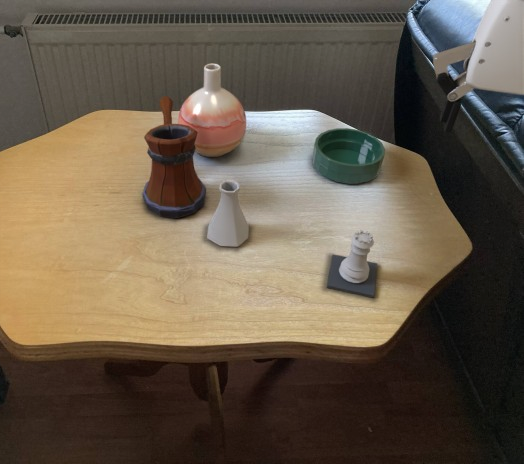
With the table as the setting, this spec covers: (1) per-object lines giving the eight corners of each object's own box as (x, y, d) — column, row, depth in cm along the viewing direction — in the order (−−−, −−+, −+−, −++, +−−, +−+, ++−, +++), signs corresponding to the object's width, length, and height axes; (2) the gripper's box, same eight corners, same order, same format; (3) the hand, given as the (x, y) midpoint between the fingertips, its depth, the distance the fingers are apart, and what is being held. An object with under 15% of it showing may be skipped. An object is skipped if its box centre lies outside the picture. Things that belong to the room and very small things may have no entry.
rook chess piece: (367, 265, 80) (378, 227, 75) (368, 286, 77) (380, 248, 71) (338, 262, 81) (347, 224, 75) (338, 282, 77) (348, 244, 72)
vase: (248, 166, 101) (254, 82, 89) (179, 168, 100) (175, 84, 88) (241, 130, 111) (245, 50, 99) (178, 132, 110) (174, 52, 98)
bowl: (381, 153, 105) (386, 134, 102) (377, 191, 95) (383, 171, 92) (316, 142, 107) (319, 124, 104) (307, 178, 98) (310, 159, 95)
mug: (140, 163, 101) (133, 93, 91) (198, 159, 103) (197, 89, 93) (144, 222, 88) (135, 148, 78) (210, 217, 89) (210, 143, 79)
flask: (199, 241, 85) (199, 193, 78) (216, 215, 90) (216, 168, 83) (240, 252, 83) (243, 205, 76) (255, 225, 88) (259, 178, 81)
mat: (376, 265, 81) (377, 263, 81) (373, 298, 76) (374, 295, 76) (332, 256, 82) (332, 254, 82) (326, 288, 77) (327, 285, 77)
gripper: (644, -25, 50) (563, 129, 62) (457, -40, 54) (413, 108, 65) (671, 0, 45) (576, 163, 56) (462, -19, 48) (413, 138, 60)
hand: (489, 133), depth 61 cm, fingers open, 9 cm apart
